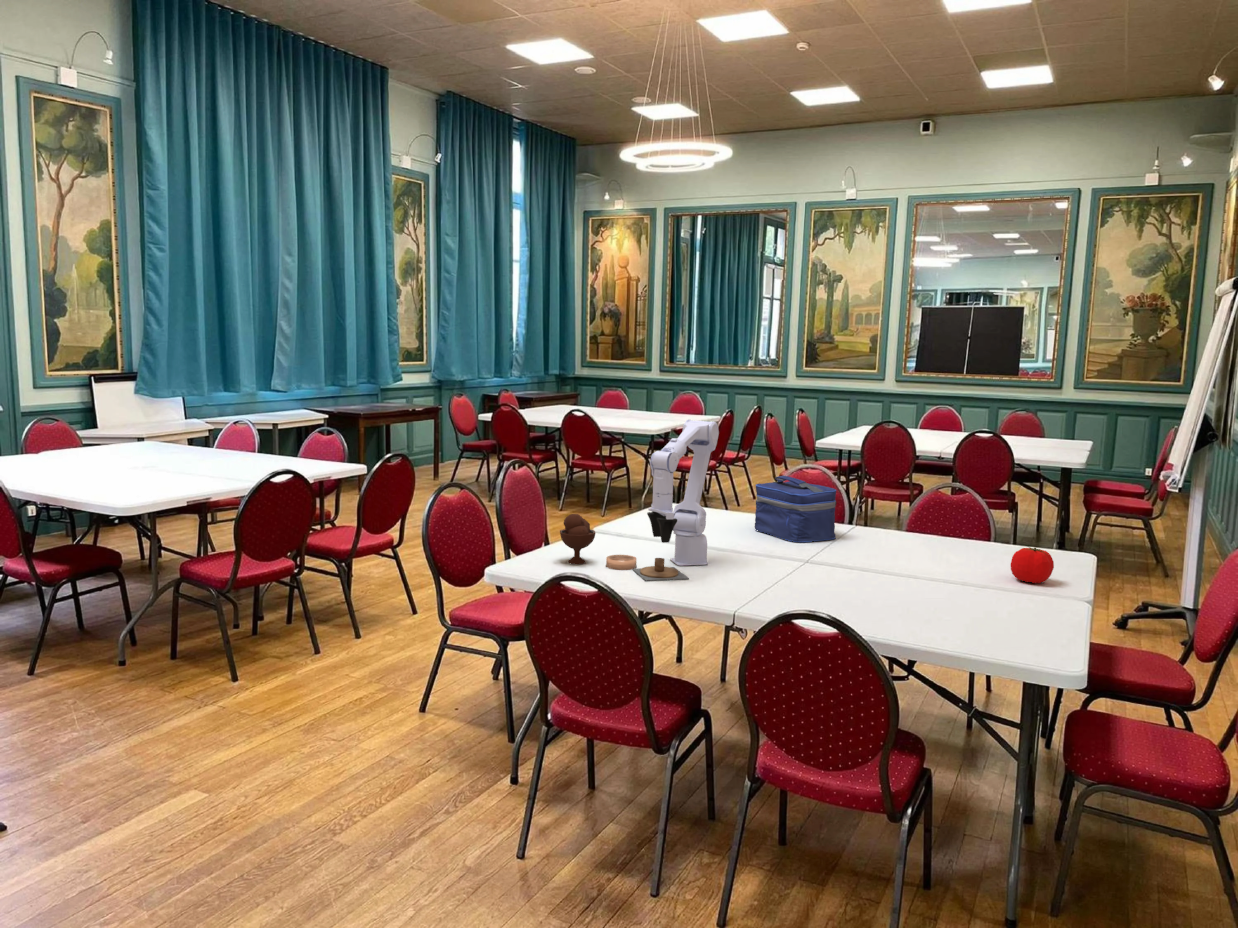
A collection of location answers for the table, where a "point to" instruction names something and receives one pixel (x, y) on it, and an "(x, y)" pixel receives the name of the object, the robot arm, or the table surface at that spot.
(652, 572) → the lid
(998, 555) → the table surface
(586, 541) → the ice cream bowl
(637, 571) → the mat
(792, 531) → the lunch bag
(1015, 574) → the tomato
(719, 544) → the table surface
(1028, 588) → the table surface
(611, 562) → the dish
